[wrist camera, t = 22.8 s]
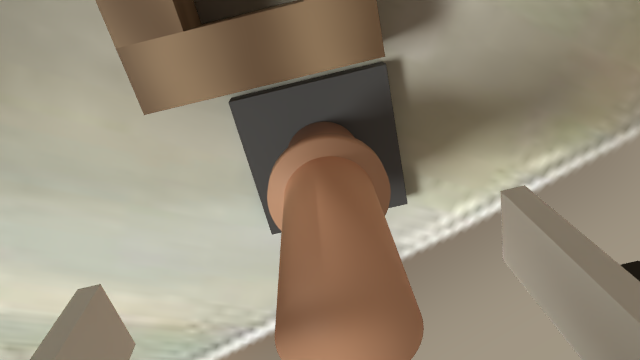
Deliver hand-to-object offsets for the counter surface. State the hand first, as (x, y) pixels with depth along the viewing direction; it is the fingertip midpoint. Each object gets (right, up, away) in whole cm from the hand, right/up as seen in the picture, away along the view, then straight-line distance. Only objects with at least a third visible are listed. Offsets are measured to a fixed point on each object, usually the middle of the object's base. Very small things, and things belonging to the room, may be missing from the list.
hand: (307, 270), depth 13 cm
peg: (+1, +4, +11) cm, 12 cm away
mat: (+1, +5, +12) cm, 13 cm away
